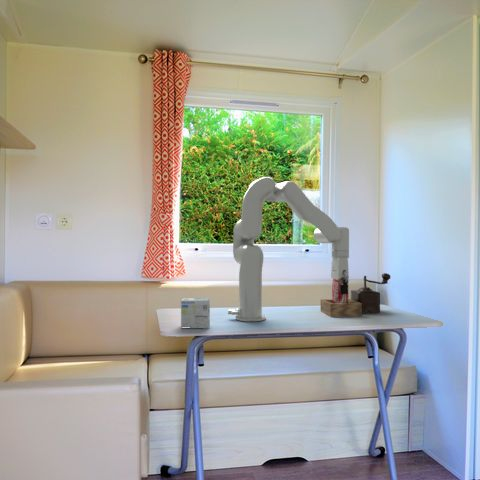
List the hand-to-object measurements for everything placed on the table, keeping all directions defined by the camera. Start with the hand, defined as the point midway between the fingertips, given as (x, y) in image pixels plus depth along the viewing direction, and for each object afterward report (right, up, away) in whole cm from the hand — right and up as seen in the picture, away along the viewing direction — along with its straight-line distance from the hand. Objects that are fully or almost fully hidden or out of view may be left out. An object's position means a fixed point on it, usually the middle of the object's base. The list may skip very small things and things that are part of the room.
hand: (340, 292), depth 187 cm
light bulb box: (-62, -10, -28) cm, 69 cm away
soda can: (0, -6, 0) cm, 6 cm away
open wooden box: (0, -9, 0) cm, 9 cm away
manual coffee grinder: (+16, -10, +6) cm, 19 cm away
